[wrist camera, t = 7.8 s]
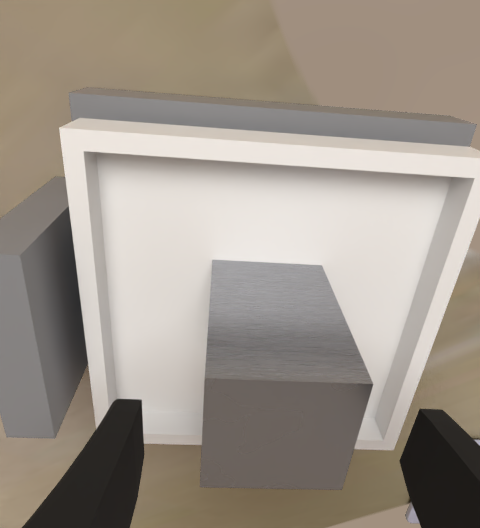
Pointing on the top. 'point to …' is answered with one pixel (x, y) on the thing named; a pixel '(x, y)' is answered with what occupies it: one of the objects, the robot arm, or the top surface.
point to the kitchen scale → (225, 247)
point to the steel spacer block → (279, 380)
